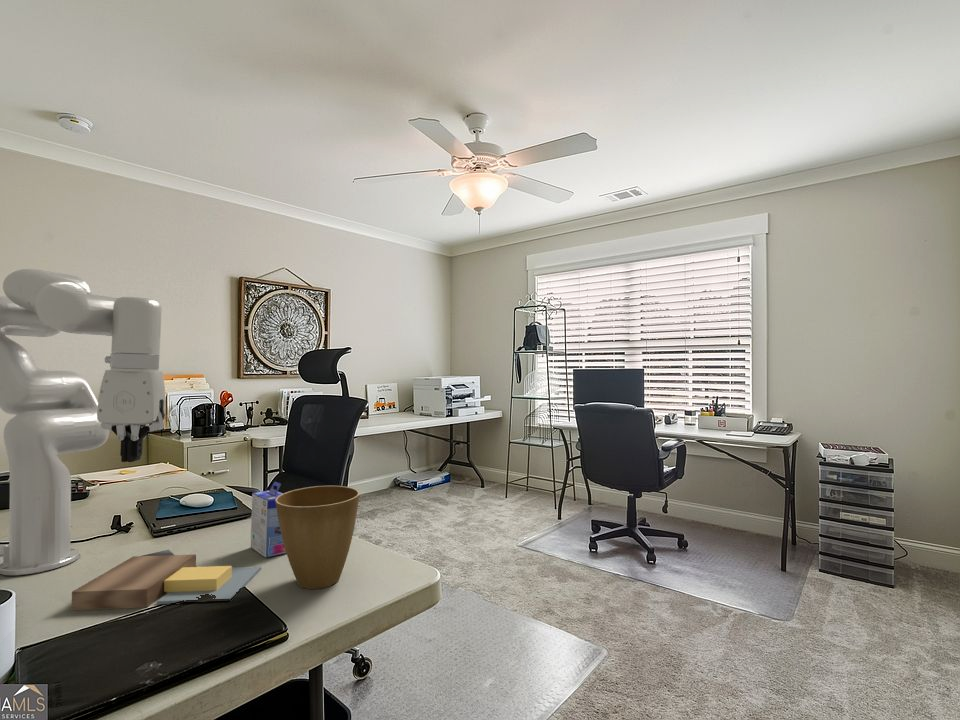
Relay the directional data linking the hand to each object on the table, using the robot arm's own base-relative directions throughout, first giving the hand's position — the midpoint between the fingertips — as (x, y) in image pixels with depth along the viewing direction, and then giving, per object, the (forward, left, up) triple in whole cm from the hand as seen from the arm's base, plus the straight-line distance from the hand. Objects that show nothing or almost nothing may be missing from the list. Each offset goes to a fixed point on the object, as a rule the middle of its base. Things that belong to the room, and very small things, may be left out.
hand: (131, 460), depth 94 cm
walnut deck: (+3, -3, -23) cm, 23 cm away
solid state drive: (-2, +11, -23) cm, 26 cm away
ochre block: (+14, -3, -22) cm, 26 cm away
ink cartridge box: (+20, +15, -23) cm, 34 cm away
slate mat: (+16, -3, -23) cm, 28 cm away
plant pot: (+35, -3, -23) cm, 42 cm away
